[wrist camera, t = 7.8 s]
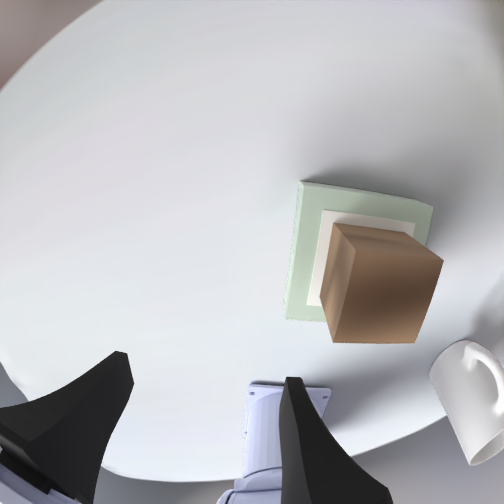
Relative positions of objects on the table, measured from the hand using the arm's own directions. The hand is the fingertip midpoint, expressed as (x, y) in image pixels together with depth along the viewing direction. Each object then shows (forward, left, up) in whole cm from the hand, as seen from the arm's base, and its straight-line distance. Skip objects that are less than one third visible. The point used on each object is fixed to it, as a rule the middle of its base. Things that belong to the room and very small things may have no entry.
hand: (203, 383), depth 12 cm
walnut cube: (+3, -9, -8) cm, 12 cm away
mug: (-6, -23, -11) cm, 26 cm away
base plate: (+3, -9, -10) cm, 14 cm away
